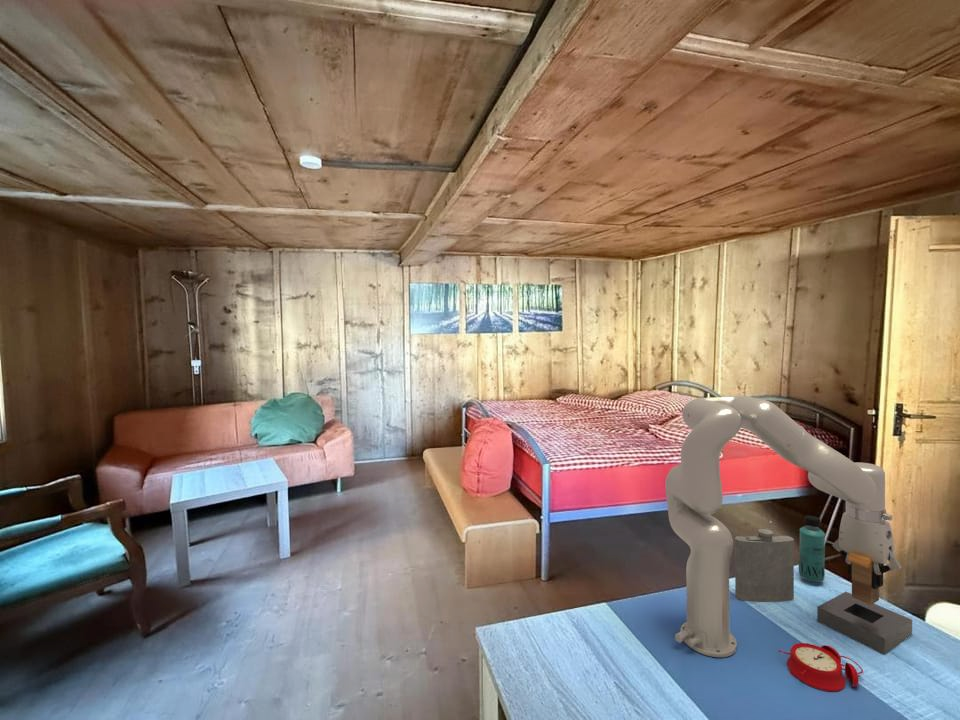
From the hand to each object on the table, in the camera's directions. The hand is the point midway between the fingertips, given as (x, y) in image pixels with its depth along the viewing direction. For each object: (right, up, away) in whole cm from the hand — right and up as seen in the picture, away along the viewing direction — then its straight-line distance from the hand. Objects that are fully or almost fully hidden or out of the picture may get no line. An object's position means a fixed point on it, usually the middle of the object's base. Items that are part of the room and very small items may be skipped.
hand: (865, 582), depth 113 cm
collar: (0, -12, +1) cm, 12 cm away
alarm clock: (-21, -14, -13) cm, 29 cm away
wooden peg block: (0, -4, 0) cm, 4 cm away
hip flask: (-16, -12, +15) cm, 25 cm away
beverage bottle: (+3, -11, +22) cm, 25 cm away
